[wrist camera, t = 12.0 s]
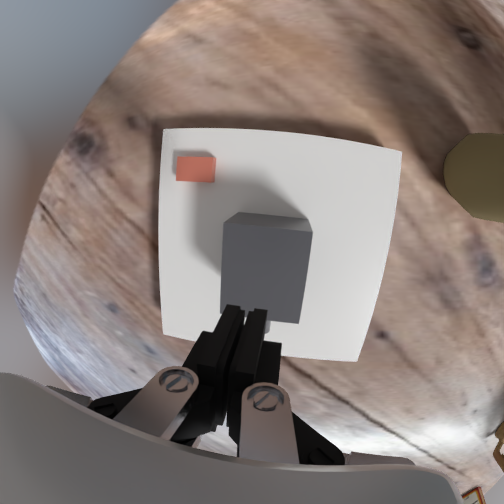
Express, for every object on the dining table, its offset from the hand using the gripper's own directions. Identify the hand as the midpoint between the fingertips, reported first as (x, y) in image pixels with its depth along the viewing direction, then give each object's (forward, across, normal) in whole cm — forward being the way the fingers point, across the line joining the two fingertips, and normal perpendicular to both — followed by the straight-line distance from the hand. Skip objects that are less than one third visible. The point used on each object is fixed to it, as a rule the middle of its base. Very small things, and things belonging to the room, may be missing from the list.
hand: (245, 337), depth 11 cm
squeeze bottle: (+15, -19, -10) cm, 26 cm away
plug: (+15, 0, +1) cm, 15 cm away
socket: (+15, 0, 0) cm, 15 cm away
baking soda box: (+15, -94, +90) cm, 131 cm away
